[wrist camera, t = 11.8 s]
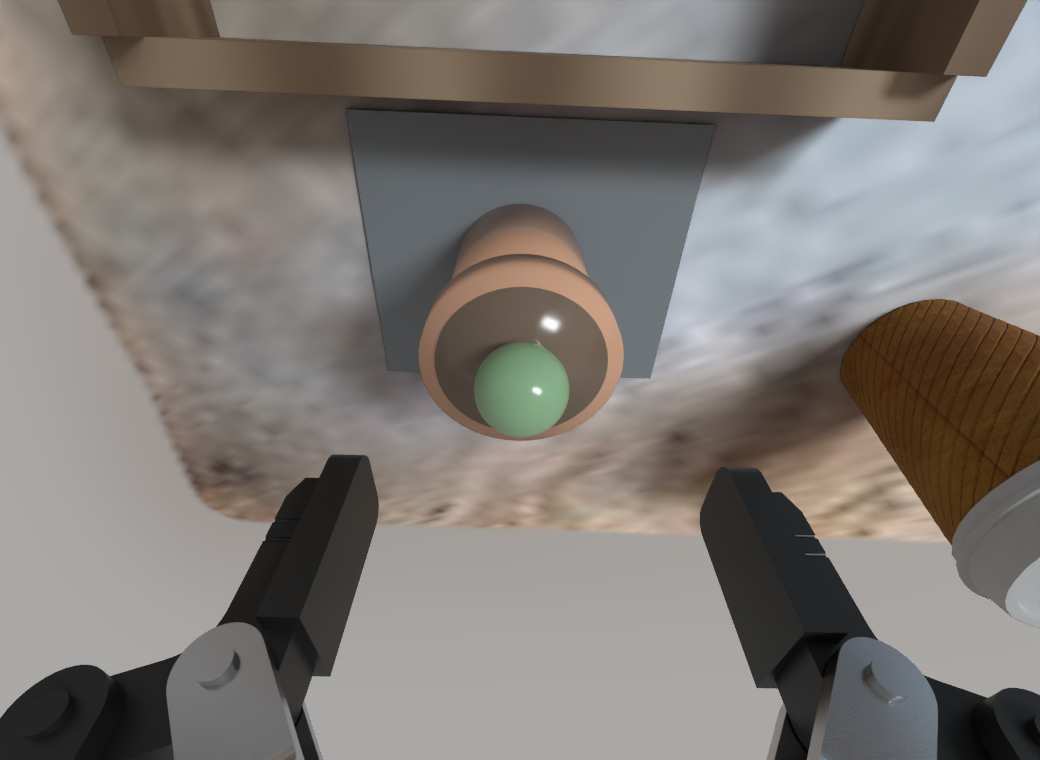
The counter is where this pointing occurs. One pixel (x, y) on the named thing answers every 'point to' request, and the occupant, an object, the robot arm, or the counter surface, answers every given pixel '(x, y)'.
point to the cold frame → (567, 64)
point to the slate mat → (526, 180)
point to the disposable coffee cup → (962, 435)
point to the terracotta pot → (520, 330)
